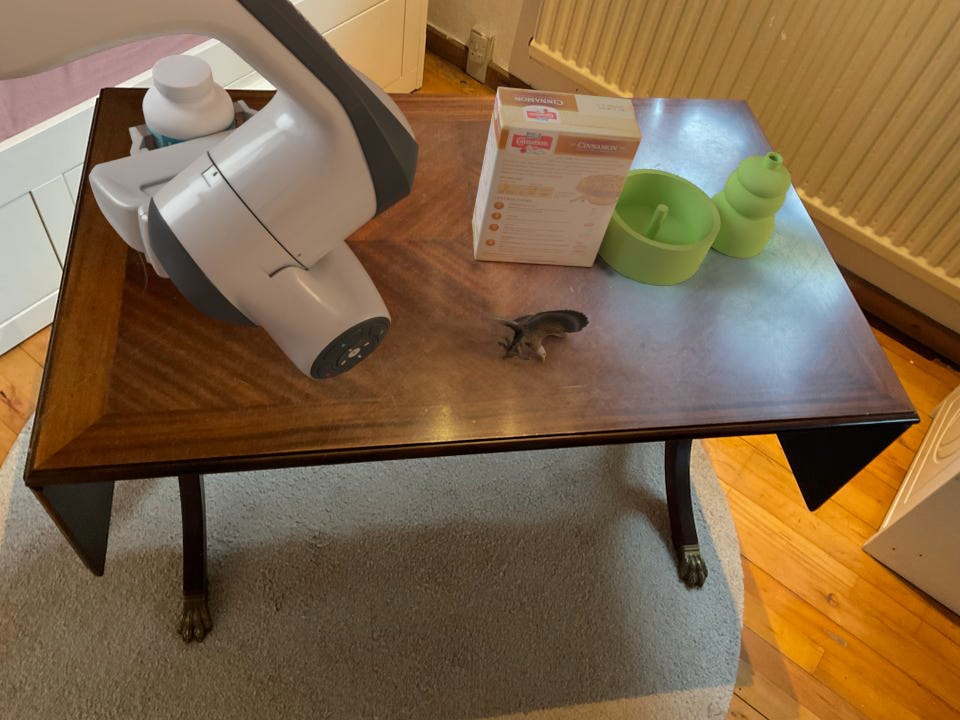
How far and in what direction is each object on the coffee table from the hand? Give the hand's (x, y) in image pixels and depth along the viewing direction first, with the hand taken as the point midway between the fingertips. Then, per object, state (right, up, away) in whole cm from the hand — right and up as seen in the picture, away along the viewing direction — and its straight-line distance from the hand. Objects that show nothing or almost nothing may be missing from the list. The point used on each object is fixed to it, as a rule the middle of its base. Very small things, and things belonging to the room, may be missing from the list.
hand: (187, 120), depth 66 cm
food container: (+53, -6, +32) cm, 62 cm away
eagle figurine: (+32, -20, +17) cm, 41 cm away
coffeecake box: (+32, -7, +26) cm, 42 cm away
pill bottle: (-1, -5, +6) cm, 8 cm away
